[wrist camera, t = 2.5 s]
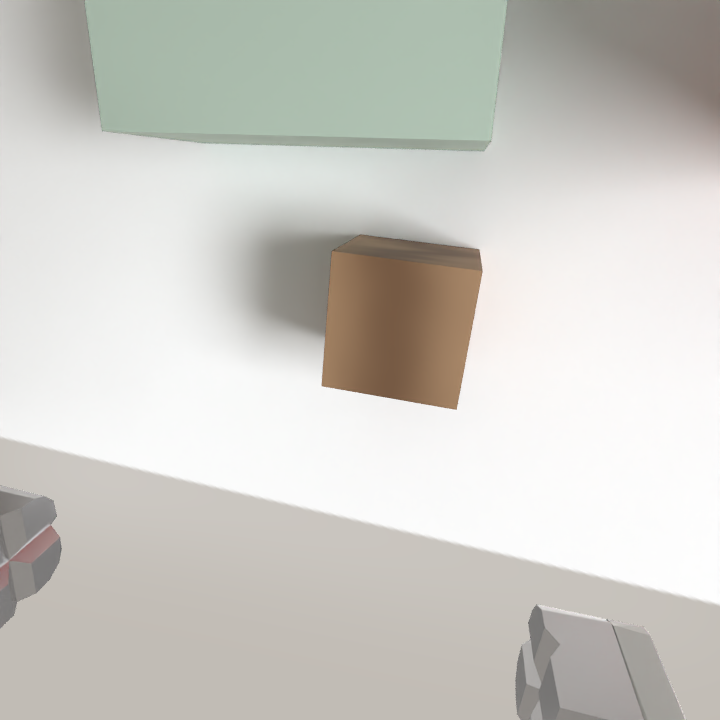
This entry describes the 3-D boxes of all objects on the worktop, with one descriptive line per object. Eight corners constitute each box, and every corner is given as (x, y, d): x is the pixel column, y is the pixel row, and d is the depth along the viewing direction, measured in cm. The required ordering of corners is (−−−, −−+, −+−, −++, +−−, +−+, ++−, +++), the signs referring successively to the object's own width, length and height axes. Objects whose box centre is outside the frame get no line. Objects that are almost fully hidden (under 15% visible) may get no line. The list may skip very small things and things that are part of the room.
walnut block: (479, 249, 25) (482, 271, 19) (458, 361, 27) (456, 409, 21) (360, 234, 26) (331, 251, 20) (350, 344, 28) (321, 386, 22)
